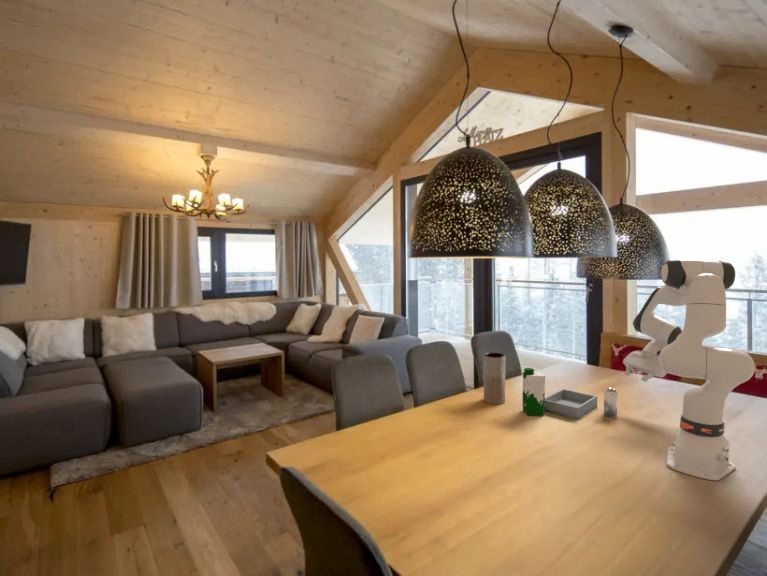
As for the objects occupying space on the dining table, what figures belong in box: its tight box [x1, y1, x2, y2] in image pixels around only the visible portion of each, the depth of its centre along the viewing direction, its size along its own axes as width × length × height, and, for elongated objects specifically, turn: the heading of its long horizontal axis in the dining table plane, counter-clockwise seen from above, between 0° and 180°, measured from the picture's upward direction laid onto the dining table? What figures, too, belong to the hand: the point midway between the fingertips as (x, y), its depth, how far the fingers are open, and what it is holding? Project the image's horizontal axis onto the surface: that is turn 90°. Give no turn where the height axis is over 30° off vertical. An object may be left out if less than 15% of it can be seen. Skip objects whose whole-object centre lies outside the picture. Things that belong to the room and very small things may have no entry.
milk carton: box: [522, 367, 546, 417], centre depth 191 cm, size 9×9×20 cm
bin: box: [544, 388, 598, 420], centre depth 197 cm, size 22×16×5 cm
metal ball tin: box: [603, 387, 619, 419], centre depth 188 cm, size 5×5×12 cm
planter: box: [483, 352, 507, 405], centre depth 208 cm, size 10×10×23 cm
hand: (634, 377), depth 190 cm, fingers open, 8 cm apart
